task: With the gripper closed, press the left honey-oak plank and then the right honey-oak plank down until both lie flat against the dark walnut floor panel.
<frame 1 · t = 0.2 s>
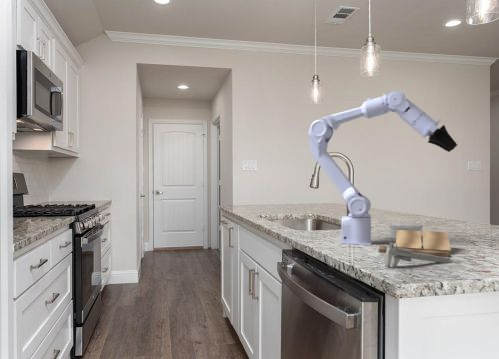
hand: (453, 148, 116), 31 cm above the worktop, fingers open, 7 cm apart
caliper: (420, 266, 95), on the worktop
floor panel: (412, 254, 109), on the worktop
ramekin: (405, 239, 136), on the worktop
right plank: (435, 241, 114), point 3 cm above the worktop, hinge at 20.0°
left plank: (408, 240, 117), point 3 cm above the worktop, hinge at 20.0°
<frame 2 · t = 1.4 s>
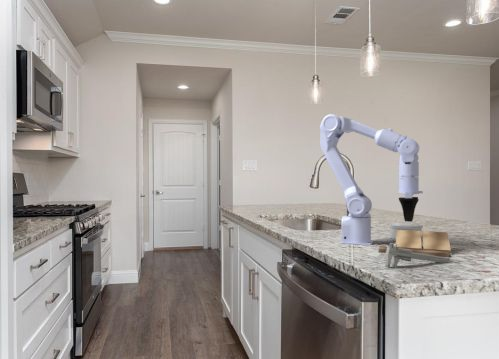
hand: (408, 220, 120), 8 cm above the worktop, fingers open, 6 cm apart
nothing on the worktop moved.
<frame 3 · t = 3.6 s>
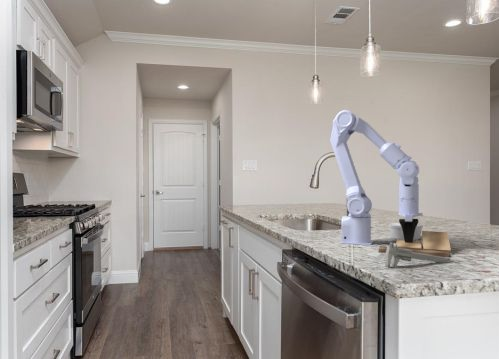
hand: (408, 242, 120), 2 cm above the worktop, fingers closed on left plank, 2 cm apart
left plank: (408, 245, 117), point 1 cm above the worktop, hinge at 1.6°, touching gripper
everything else where it was.
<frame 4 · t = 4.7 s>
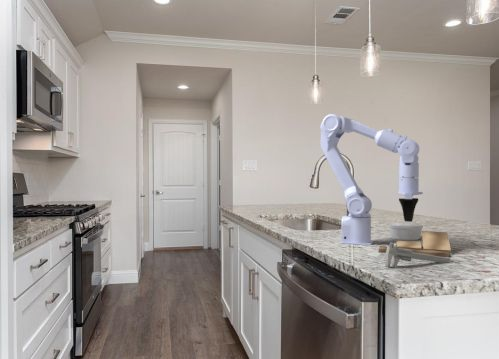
hand: (408, 221, 120), 8 cm above the worktop, fingers closed
left plank: (408, 246, 117), point 1 cm above the worktop, hinge at 0.0°
everything else where it was.
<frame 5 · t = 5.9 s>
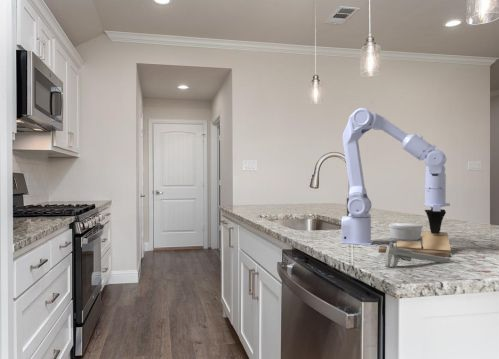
hand: (435, 233, 117), 5 cm above the worktop, fingers closed
right plank: (435, 242, 114), point 3 cm above the worktop, hinge at 19.6°, touching gripper
everything else where it was.
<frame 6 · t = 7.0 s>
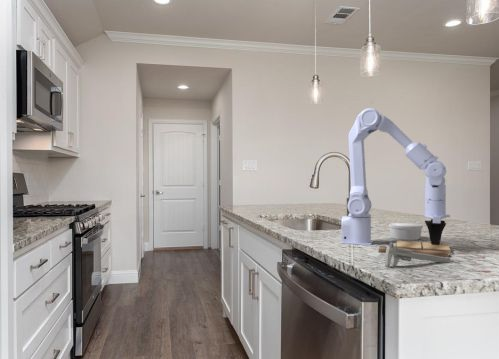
hand: (435, 244, 117), 1 cm above the worktop, fingers closed on right plank, 2 cm apart
right plank: (435, 247, 114), point 1 cm above the worktop, hinge at 0.2°, touching gripper
everything else where it was.
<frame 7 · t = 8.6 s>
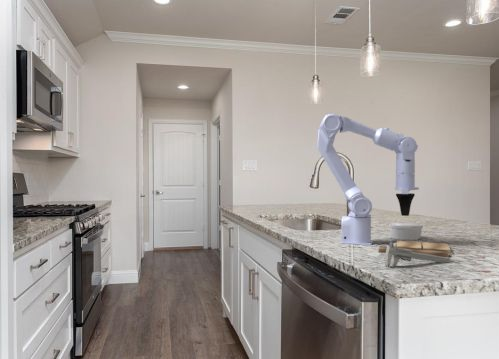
hand: (405, 215, 125), 9 cm above the worktop, fingers closed
right plank: (435, 247, 114), point 1 cm above the worktop, hinge at 0.1°
everything else where it was.
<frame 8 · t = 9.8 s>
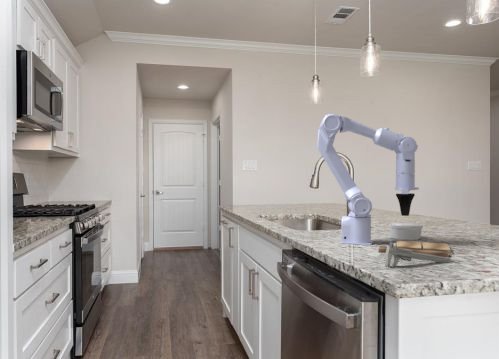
hand: (405, 215, 125), 9 cm above the worktop, fingers closed
nothing on the worktop moved.
at the end: left plank at +0° (first picture: +20°); right plank at +0° (first picture: +20°) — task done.
